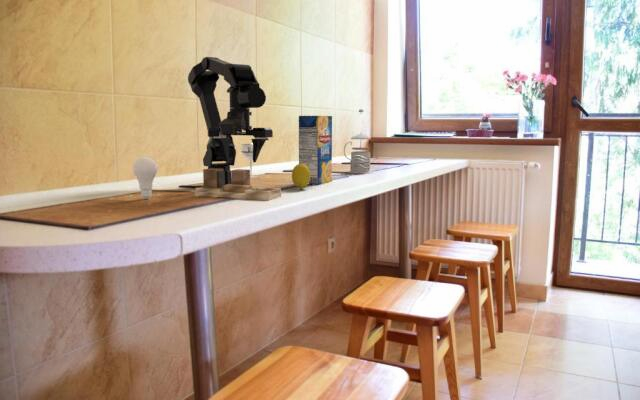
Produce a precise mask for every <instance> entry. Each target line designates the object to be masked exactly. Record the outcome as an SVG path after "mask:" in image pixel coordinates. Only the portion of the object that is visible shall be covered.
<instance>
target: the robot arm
mask: <svg viewBox="0 0 640 400" xmlns="http://www.w3.org/2000/svg"><path fill="white" fill-rule="evenodd" d="M220 76H221V77H223V80H224V81H225V82H226V83H227V84H229V85H230V86H229V87H228V88H227V90H226V93H228V94H229V111H227V114H226V118H224V119H221V115H220V111H219V108H218V105H217V100H216V97H215V90H216V88H217V85H218V84H217V82H218V81H219V80H220ZM187 81H188V84H189V87H190V89H191V92H192V93H193V94H194V95H195V96H196V97H198V99H199V103H200V106H201V109H202V114H203V118H204V122H205V125H206V130H207V137H209V139H208V142H207V144H206V151H205V154H204V156H203V158H202V163H203V167H207V169H209V168H218V169H223V170H224V171H225V185H228V184H231V185H232V170H231V167H232V166H233V167H234V166H235V161H236V157H237V150H236V146H235V143H234V139H233V136H250V137H251V136H252V137H254V138H251V144H253V160H252V163H257V160H258V158H259V156H260V153H261V151H262V149H263V147H264V144H265V143H266V142H267V141H269V139H270V138H273V135H274V134H273V129H272V128H271V127H253V126H252V125H250V122H251V121H250V120H251V118H250V117H251V116H253V115H252V112H253V111H250V110H251V109H255V108H256V109H259V108H262V107H263V106H264V105H265V103H266V100H267V96H266V93H265V91H264V89H262V88H261V87H260V83H259V82H258V80H257V77H256V75H255V73H254V71H253V69H252V66H251V65H250V64H240V63H231V62H228V61H225V60H222V59H220V58H218V57H216V56H215V57H214V56H213V57H212V56H205V57H203V58H202V60H201V61H200V62H199V63H197V64H196V65H193V66H192V67H191V70H190V71H189V73H188V76H187ZM252 127H253V128H252Z"/></svg>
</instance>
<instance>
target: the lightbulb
mask: <svg viewBox="0 0 640 400" xmlns="http://www.w3.org/2000/svg"><path fill="white" fill-rule="evenodd" d="M132 172H133V174H134V176H135V177H136V179H137V182H138V186H139V189H140V197H142V198H143V199H144V200H149V198H151V197H152V189H153V183H154V179H155V177H156V175H157V173H158V165H157V163H156V162H155V160H154V159H152V158H151V157H148V156H141V157H139V158H137V159H136V160H135V161H134V163H133V164H132Z"/></svg>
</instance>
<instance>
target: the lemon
mask: <svg viewBox="0 0 640 400" xmlns="http://www.w3.org/2000/svg"><path fill="white" fill-rule="evenodd" d="M291 179H292V182H293V184H294V186H296V187H297V188H299V190H302V189H303V188H304V187H306V186H308V185H309V184H308V183H309V181H310V171H309V168H308V167H307V166H306V165H304V164H303V163H299V162H298V163H297V164H296V165H295V166H294V167H293V169H292V172H291Z"/></svg>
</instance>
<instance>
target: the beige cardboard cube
mask: <svg viewBox="0 0 640 400" xmlns="http://www.w3.org/2000/svg"><path fill="white" fill-rule="evenodd" d="M250 175H251V173H250V169H246V168H245V169H244V168H243V169H242V168H237V169H233V170H231V176H232V184H231V185H251V178H250Z"/></svg>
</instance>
